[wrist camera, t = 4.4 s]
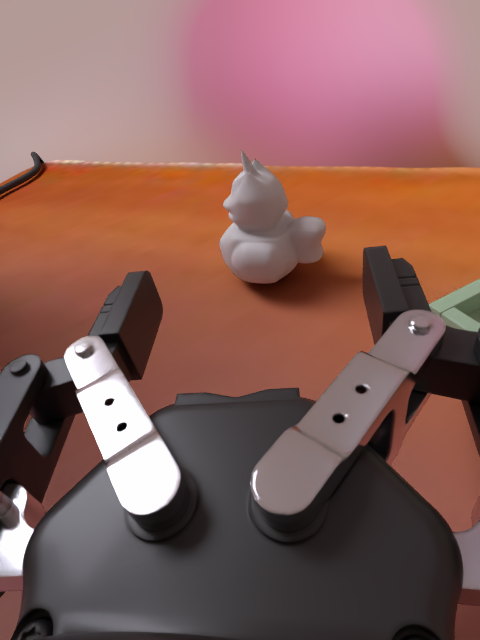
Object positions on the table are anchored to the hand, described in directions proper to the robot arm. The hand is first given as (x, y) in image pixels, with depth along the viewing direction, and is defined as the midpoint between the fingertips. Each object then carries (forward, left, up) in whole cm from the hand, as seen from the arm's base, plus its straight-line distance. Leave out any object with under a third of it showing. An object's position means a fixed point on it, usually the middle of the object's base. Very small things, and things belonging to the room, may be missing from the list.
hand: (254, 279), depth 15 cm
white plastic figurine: (-8, +5, -7) cm, 11 cm away
